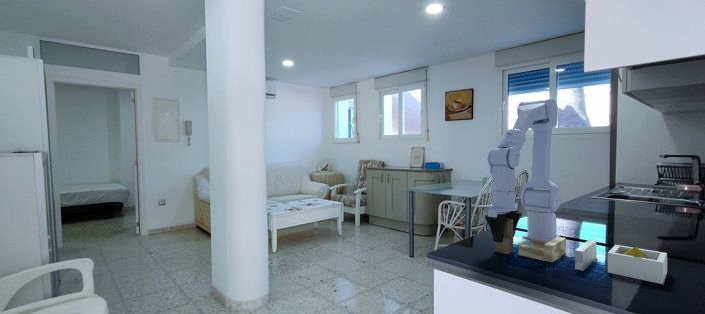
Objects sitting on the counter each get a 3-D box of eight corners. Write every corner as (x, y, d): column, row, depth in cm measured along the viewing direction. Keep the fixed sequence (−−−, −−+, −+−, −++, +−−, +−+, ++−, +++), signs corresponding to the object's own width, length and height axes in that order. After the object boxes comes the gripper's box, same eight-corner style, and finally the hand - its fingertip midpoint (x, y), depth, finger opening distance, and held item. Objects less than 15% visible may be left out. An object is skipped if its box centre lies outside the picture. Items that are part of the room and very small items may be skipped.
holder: (615, 262, 77) (615, 244, 77) (667, 272, 71) (667, 253, 71) (607, 272, 72) (607, 252, 72) (663, 284, 65) (662, 262, 65)
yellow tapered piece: (655, 274, 71) (660, 252, 66) (630, 282, 72) (633, 261, 67) (635, 254, 76) (638, 232, 70) (612, 262, 77) (613, 241, 71)
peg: (500, 248, 90) (500, 217, 90) (513, 251, 87) (513, 219, 87) (495, 251, 88) (494, 219, 88) (508, 254, 85) (507, 221, 85)
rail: (589, 256, 82) (589, 239, 82) (596, 258, 81) (596, 240, 81) (575, 269, 74) (575, 250, 74) (582, 270, 73) (582, 251, 73)
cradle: (533, 246, 91) (533, 232, 91) (565, 252, 85) (565, 238, 85) (518, 254, 84) (518, 240, 84) (552, 262, 78) (552, 246, 78)
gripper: (500, 187, 95) (501, 232, 95) (477, 191, 86) (477, 241, 86) (525, 189, 90) (525, 236, 90) (503, 194, 80) (503, 247, 80)
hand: (504, 239), depth 88 cm, fingers open, 7 cm apart
